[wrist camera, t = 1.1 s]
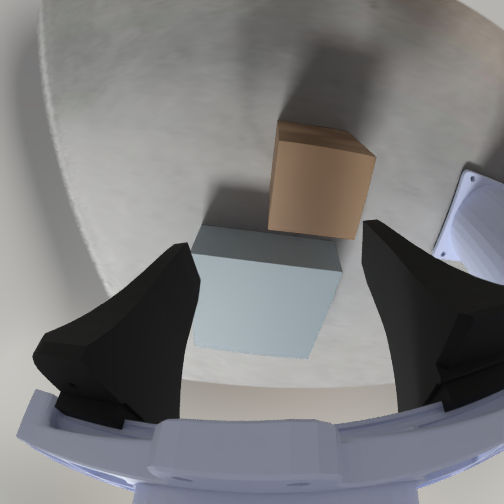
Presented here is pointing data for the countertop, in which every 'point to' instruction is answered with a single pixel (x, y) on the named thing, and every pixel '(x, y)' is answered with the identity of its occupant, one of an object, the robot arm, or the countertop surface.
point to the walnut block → (318, 181)
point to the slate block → (262, 291)
